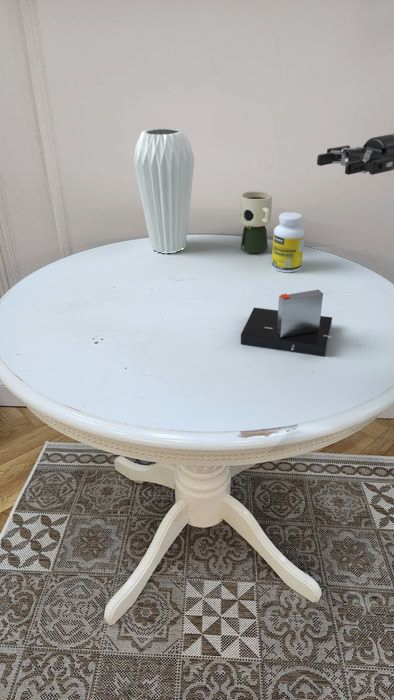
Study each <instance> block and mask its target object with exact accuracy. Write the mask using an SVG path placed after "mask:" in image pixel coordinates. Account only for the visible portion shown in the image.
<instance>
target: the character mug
mask: <svg viewBox="0 0 394 700" xmlns="http://www.w3.org/2000/svg"><path fill="white" fill-rule="evenodd" d="M239 200H240V202H239V207H240V214H239V222H240V224H241V225H243V226H244V227H243V230H242V235H241V244H240V249H241V250H243V251H244V252H245V253H249V254H257V253H260V252H264V251H266V250H267V249H268V248H269V247H268V246H269V245H268V233H267V226H269V224H271V221H272V206H273V194H272V193H270V192H267V191H261V190H250V191H249V190H248V191H244V192H242V193H241V194H240V199H239Z"/></svg>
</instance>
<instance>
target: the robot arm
mask: <svg viewBox="0 0 394 700" xmlns="http://www.w3.org/2000/svg"><path fill="white" fill-rule="evenodd" d="M316 159H317V160H316V165H317V166H320V167H323V166H326V165H331V164H332V165H333V164H339V165H340V166H343V167H345V168H344V174H345V175H348V176H350V175H355V174H358V173H361V174H368V173H369V175H371V176H374V175H377V174H383V173H387V172H390V171H391V172H392V171H394V133H389V134H384V135H379V136H374V137H371V138H369V139H367V141H366V142H365V143H364V144H363V146H356V147H351V145H342V146H336V147H329V148H327V149H326V152H325V153H320V154H318V155H317V158H316ZM345 160H347V161H345Z"/></svg>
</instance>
